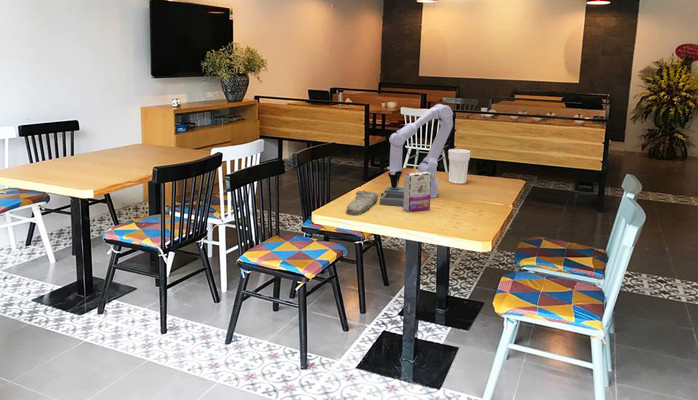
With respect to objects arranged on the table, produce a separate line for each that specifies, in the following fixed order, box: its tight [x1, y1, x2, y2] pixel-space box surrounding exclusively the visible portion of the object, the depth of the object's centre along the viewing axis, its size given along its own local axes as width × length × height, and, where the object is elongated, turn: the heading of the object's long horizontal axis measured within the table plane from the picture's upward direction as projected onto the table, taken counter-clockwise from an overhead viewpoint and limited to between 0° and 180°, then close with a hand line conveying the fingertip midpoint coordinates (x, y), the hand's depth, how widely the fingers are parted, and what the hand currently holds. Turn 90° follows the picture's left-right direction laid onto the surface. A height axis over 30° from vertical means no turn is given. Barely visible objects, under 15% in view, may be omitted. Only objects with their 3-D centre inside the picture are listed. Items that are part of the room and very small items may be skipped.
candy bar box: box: [402, 171, 431, 213], centre depth 259 cm, size 11×5×16 cm, turn 117°
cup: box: [447, 148, 471, 186], centre depth 317 cm, size 11×11×17 cm
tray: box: [379, 192, 404, 208], centre depth 272 cm, size 13×13×3 cm
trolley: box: [380, 186, 404, 198], centre depth 284 cm, size 14×9×7 cm
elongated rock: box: [345, 189, 379, 216], centre depth 265 cm, size 35×5×10 cm
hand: (394, 186), depth 284 cm, fingers closed on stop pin, 3 cm apart
